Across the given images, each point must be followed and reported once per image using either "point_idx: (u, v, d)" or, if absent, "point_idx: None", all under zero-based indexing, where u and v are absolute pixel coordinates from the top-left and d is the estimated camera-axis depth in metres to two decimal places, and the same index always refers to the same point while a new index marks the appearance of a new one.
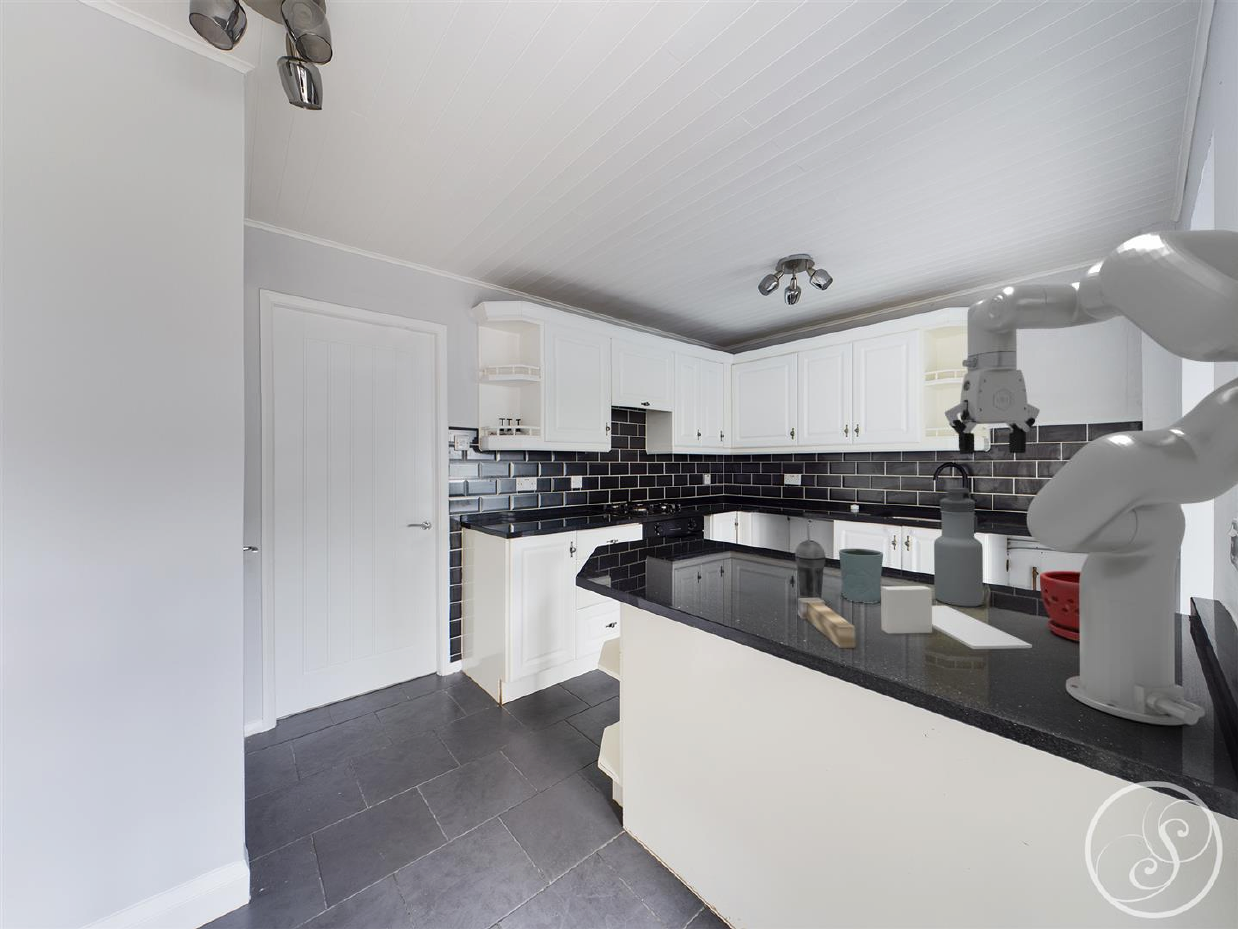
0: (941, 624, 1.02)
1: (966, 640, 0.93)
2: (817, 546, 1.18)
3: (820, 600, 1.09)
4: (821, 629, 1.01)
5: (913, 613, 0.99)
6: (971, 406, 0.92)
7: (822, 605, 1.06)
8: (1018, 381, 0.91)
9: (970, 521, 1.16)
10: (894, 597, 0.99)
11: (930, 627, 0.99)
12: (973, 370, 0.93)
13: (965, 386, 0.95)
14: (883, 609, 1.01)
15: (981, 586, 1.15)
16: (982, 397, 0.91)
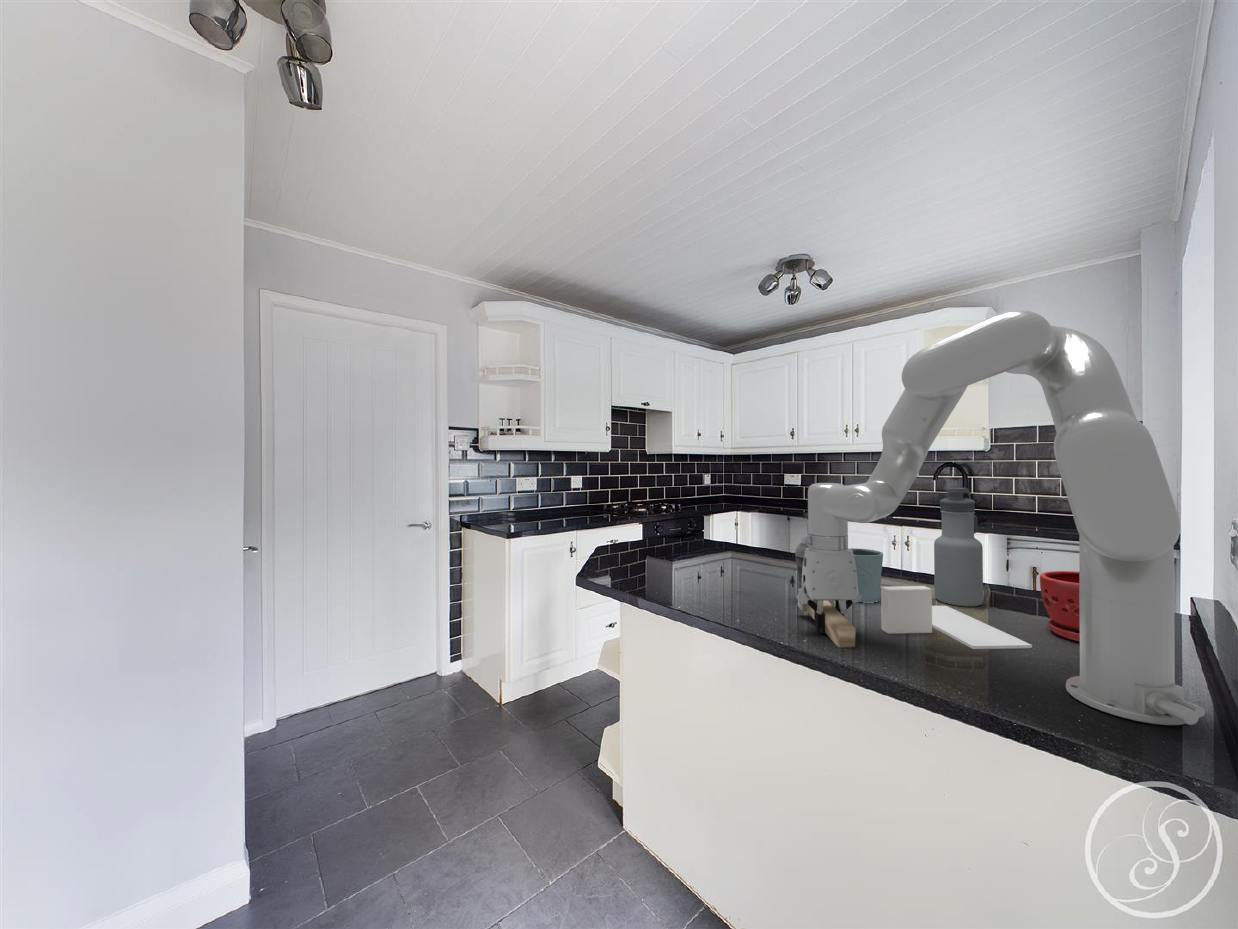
0: (941, 624, 1.02)
1: (966, 640, 0.93)
2: None
3: None
4: None
5: (913, 613, 0.99)
6: (807, 584, 0.99)
7: None
8: (849, 562, 0.98)
9: (970, 521, 1.16)
10: (894, 597, 0.99)
11: (930, 627, 0.99)
12: (810, 548, 1.00)
13: (805, 560, 1.01)
14: (882, 609, 1.01)
15: (981, 586, 1.15)
16: (815, 577, 0.98)
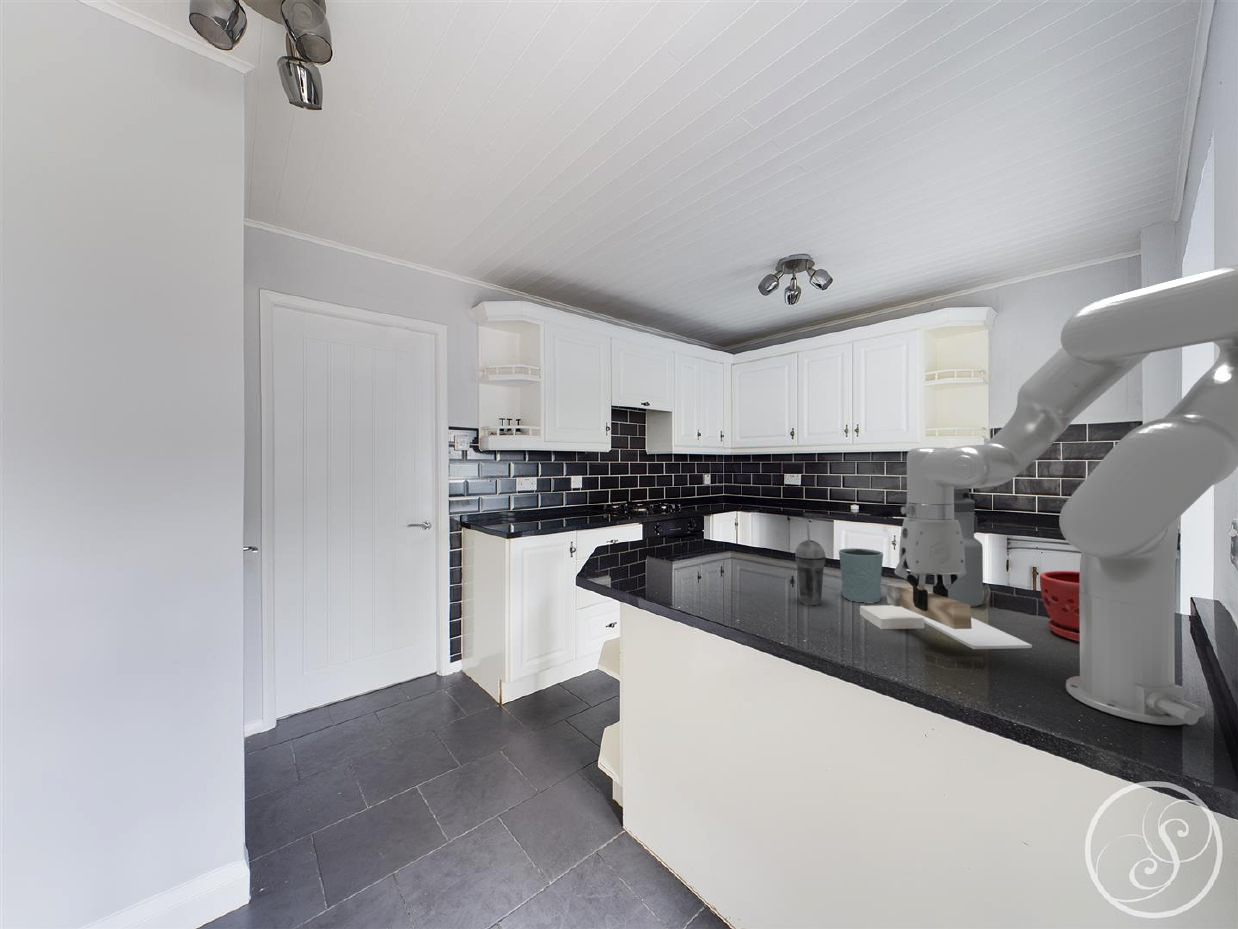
0: (941, 624, 1.02)
1: (966, 640, 0.93)
2: (817, 546, 1.18)
3: None
4: (923, 613, 0.92)
5: (895, 612, 1.06)
6: (908, 556, 0.90)
7: None
8: (956, 533, 0.89)
9: (970, 521, 1.16)
10: (869, 608, 1.09)
11: (918, 616, 1.03)
12: (911, 518, 0.92)
13: (904, 532, 0.93)
14: (870, 620, 1.06)
15: (981, 586, 1.15)
16: (919, 549, 0.89)
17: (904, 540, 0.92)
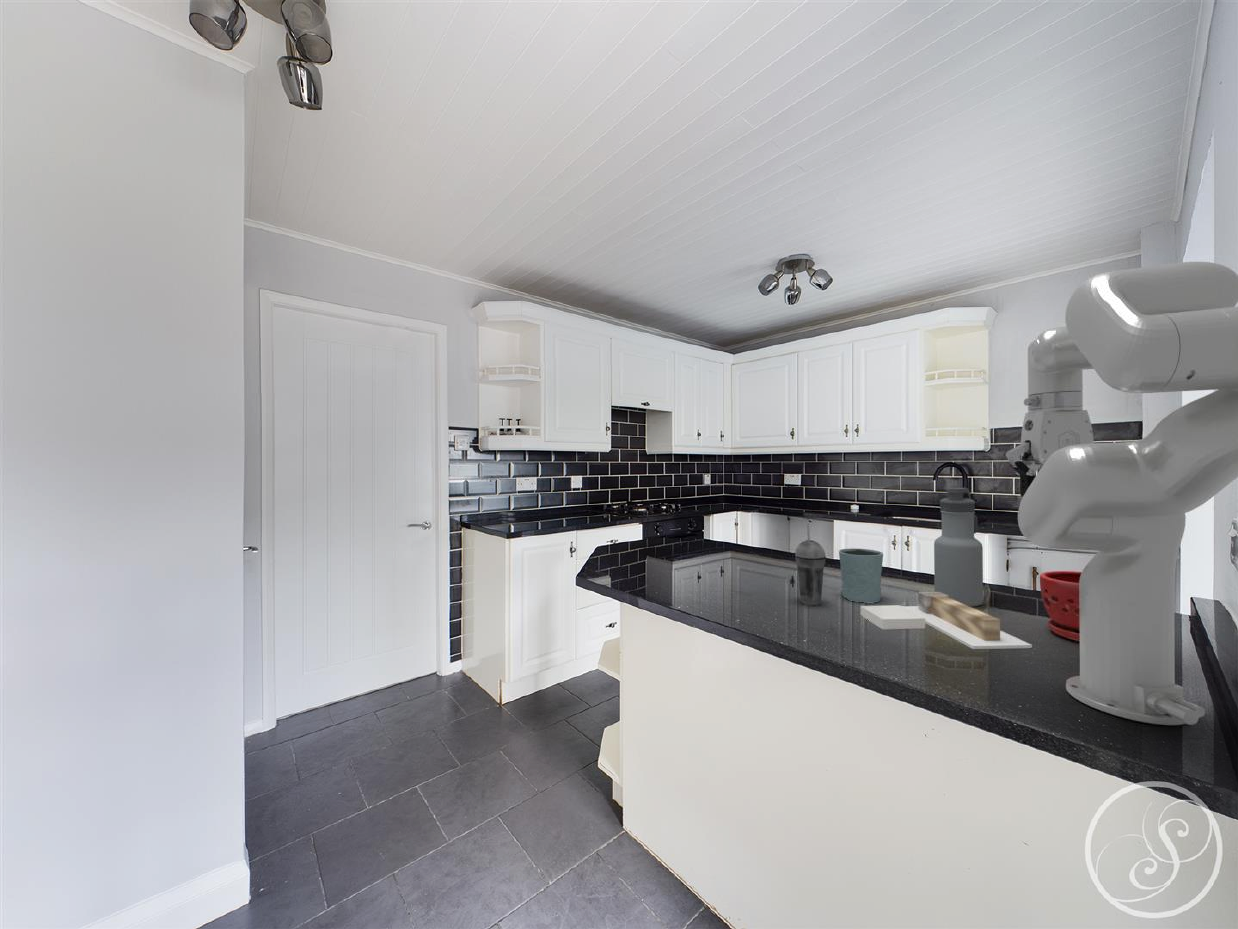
0: (941, 624, 1.02)
1: (966, 640, 0.93)
2: (817, 546, 1.18)
3: (943, 594, 1.10)
4: (954, 622, 1.01)
5: (896, 612, 1.06)
6: (1035, 447, 0.88)
7: (949, 599, 1.06)
8: (1085, 422, 0.87)
9: (970, 521, 1.16)
10: (870, 608, 1.09)
11: (920, 616, 1.03)
12: (1036, 409, 0.89)
13: (1026, 425, 0.91)
14: (871, 621, 1.06)
15: (981, 586, 1.15)
16: (1047, 439, 0.87)
17: (1028, 432, 0.90)
